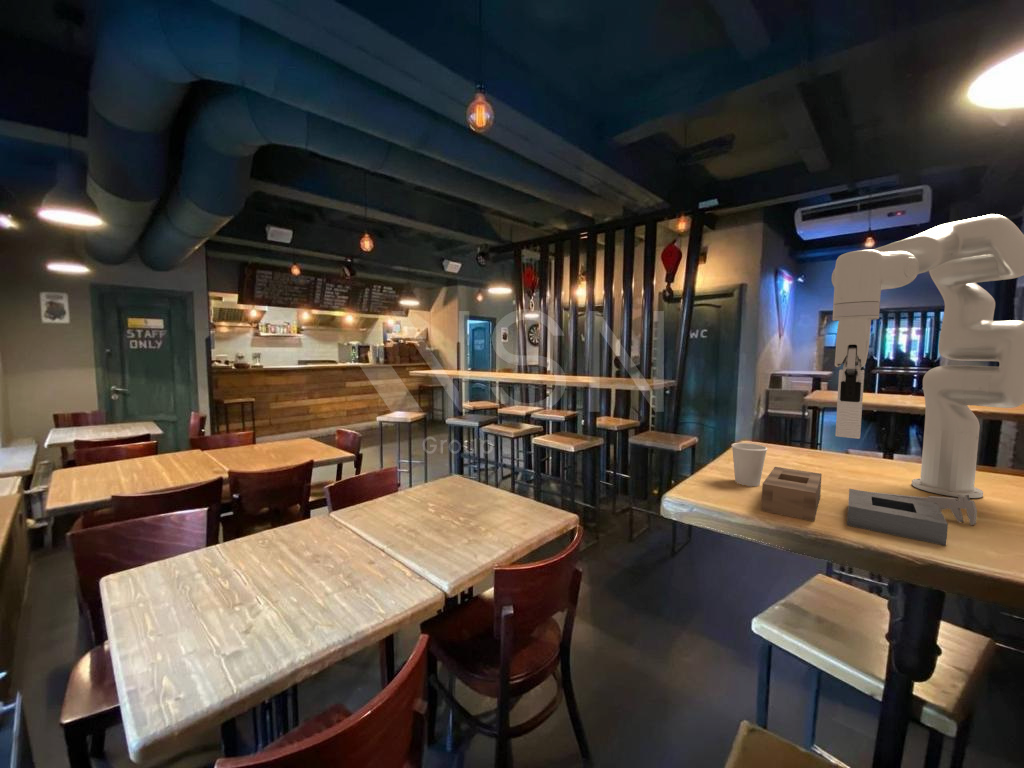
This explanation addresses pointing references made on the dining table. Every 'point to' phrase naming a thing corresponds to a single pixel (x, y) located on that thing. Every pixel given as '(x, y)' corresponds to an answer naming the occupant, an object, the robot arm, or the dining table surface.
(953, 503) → the caliper
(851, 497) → the seat block
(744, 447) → the dixie cup
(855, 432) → the rectangular block
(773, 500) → the slotted block
